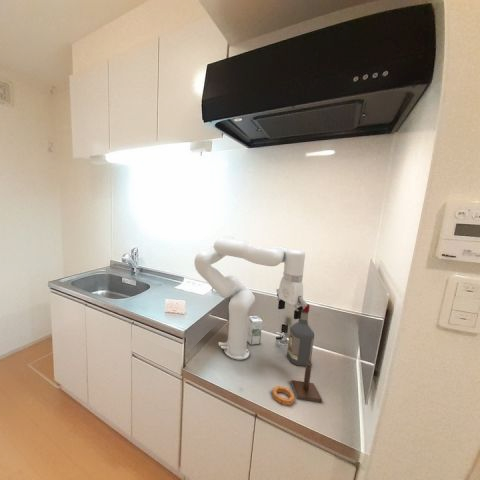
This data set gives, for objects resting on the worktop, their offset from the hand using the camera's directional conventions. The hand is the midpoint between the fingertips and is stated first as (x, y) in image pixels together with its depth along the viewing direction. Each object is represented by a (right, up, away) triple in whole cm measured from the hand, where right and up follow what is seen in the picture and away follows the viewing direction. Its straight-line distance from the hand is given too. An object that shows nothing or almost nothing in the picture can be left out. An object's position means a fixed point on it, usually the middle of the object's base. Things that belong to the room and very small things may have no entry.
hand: (288, 313), depth 114 cm
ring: (-8, -32, -10) cm, 34 cm away
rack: (+3, -31, -7) cm, 32 cm away
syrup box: (-6, -24, +28) cm, 38 cm away
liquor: (+11, -28, +13) cm, 33 cm away
